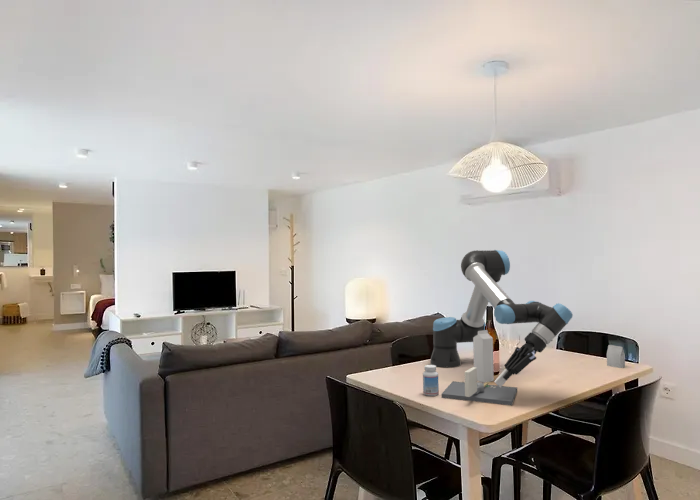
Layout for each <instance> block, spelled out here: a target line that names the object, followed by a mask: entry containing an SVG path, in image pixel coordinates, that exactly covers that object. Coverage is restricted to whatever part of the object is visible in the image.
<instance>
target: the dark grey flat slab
mask: <svg viewBox="0 0 700 500" xmlns="http://www.w3.org/2000/svg"><path fill="white" fill-rule="evenodd" d="M517 392H518V387H516V386H507V385H506V386H505V385H502V386H501V388H500V387H499V386H498V385H497V384H496V385H495V384H487V385H486V386H485V387H484V392H479V393H478V394H473V395H471V396H470V397H466V396H465V381H454V380H452V381H451V383H450V384H449V385H448V386H447V387H446V388H445V389H444V390H443V391H442V392H441V399H442V398H443V399H450V400H458V401H468V402H475V403H476V402H477V403H487V404H494V405H495V404H497V405H503V406H504V405H505V406H513V404H514V401H515V398H516V396H517Z"/></svg>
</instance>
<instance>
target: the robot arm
mask: <svg viewBox="0 0 700 500" xmlns="http://www.w3.org/2000/svg"><path fill="white" fill-rule="evenodd" d="M510 261H511V260H510V257H509V256H508V254H507V253H506V252H505V251H503V250H498V249H494V250H471V251H469V252H468V253H466V254H465V255H464V256H463V257H462V260H461V263H460V268H461V269H460V270H461V273H462V275H463V276H464V278H465V279H466V280H468V281H470V282H472V283H473V284H474V288H473V291H472V293H471V297H470V300H469V303H468V306H467V309H466V311H465V312H463V313H462V315H461V318H460V319H457V318H456V317H453V316H449V317H448V316H447V317H439V318H437V319H435V320H434V321H433V323H432V335H433V336H432V337H433V338H432V340H433V350H432V353H431V356H430V359H429V360H430V363H429V365H435V366H436V368H437V367H439V368H456V367H460V366H461V361H462V360H461V358H460V355H459V352H458V348H457V347H458V344H459V343H473V337H475V336H476V335H478V331H482V330H485V326H486V327H487V324H486V322H485V319H484V316H485V314H486V310H487V308H488V304H490V305H491V306H492V307H493V309H494V310H493V315H494V316H493V317H495V320H496V322H497V323H499V324H501V325H514V324H528V323H529V324H531V323H537V324H536V325H535V326H534V327H533V328H532V329H531V332H529V333H528V334H527V335H526V336H525V337H524V341H525V343H524V344H523V345H521V347H519V346H517V347H515V349H514V352H513V353H512V354H511V356H510V357H509V358H508V359H507V361H506V363H504V367H505V368H504V370H502V372H501V373H500V374H499V375H498V377H496V379H495V380H494V381H493V383H495V384H496V385H497V386H499V387H500V388H501V386H504V384H505V383H506V382H507V381H508V380H509V379H510V378H511V377H512V375H518V374H520V373H521V371H523V370H524V369H525V368H526V367H527V366H528V365H530V364H531V363H532V362H533V361H535V360H537V356H536V354H537V353H542V352H543V351H544V350H545V348H547V345H549V344H550V343H551V342H553V341H554V339H555V337H557V335H558V334H559V333H560V332H561V331H562V330H563V329H564V328H565V327H566V325H568V324H569V322H570V321H571V320H572V318H573V316H574V315H573V312H572V311H571V310H570V309H569V308H568V307H567V306H566V305H564V304H563V303H559V302H558V303H556V304H554V305H553V306H552V307H551V306H549V305H546V304H544V303H542V302H539V301H535V300H529V301H527V302H526V303H516V302H514V301H513V300H512V299H511V297H509V296H508V295H507V293H506V292H505V291H504V290H503V289H502V287H500V285H499V284H498V283H499V282H500V281H501V278H502V276H505V275H507V274H509V272H510V269H511V262H510Z"/></svg>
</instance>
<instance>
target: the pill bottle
mask: <svg viewBox="0 0 700 500" xmlns="http://www.w3.org/2000/svg"><path fill="white" fill-rule="evenodd" d="M423 367H424V371H423V372H422V390H423V391H422V392H423V395H425V396H428V397H435V396H439V393H440V392H439V391H440V390H439V389H440V388H439V387H440V386H439V373H438V372H437V366H435V365H431V364H426V365H424V366H423Z"/></svg>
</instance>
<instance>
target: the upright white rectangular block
mask: <svg viewBox="0 0 700 500" xmlns="http://www.w3.org/2000/svg"><path fill="white" fill-rule="evenodd" d="M464 382H465V396H466V397H470V396H471V395H473V394H478V393H479V392H484V387H485V386H486V385H490V382H485V383H483V382H480V381H477V368H476V367H474V366H472V367H470V368H469V369H467V370H465V371H464Z"/></svg>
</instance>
